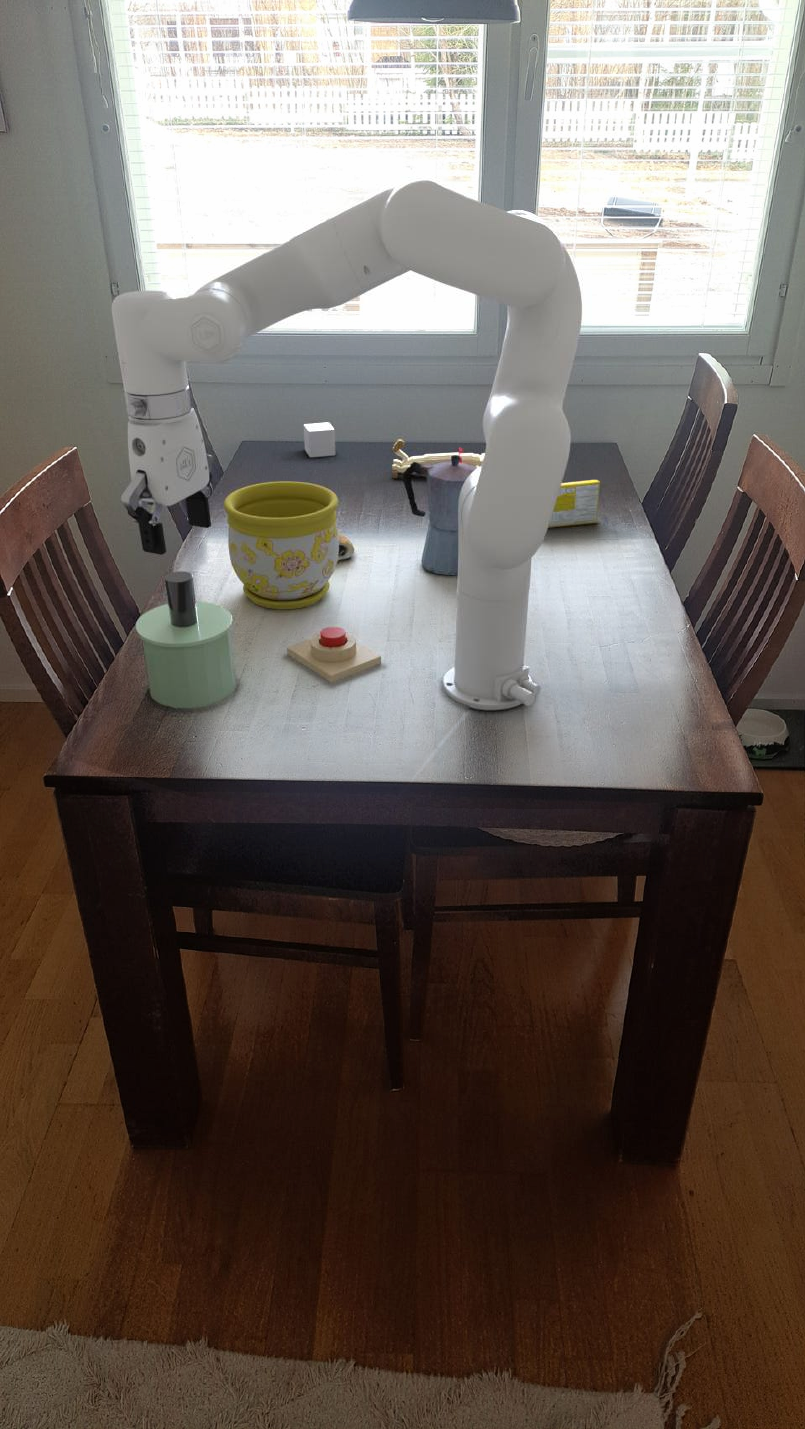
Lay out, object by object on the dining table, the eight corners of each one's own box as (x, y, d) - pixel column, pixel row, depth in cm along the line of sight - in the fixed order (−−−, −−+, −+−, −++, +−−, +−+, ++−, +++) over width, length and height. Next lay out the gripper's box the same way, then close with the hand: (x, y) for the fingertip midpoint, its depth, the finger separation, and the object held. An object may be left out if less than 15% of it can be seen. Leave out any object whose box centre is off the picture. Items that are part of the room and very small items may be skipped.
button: (350, 643, 146) (350, 633, 145) (330, 651, 144) (330, 640, 143) (335, 635, 148) (335, 624, 147) (315, 642, 146) (315, 631, 145)
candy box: (592, 520, 198) (597, 478, 193) (597, 523, 196) (601, 482, 192) (514, 527, 194) (517, 485, 190) (518, 531, 192) (521, 489, 188)
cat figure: (392, 487, 217) (509, 481, 215) (389, 447, 213) (508, 440, 210) (396, 473, 226) (508, 466, 223) (393, 434, 221) (507, 427, 218)
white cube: (329, 448, 238) (329, 422, 234) (335, 455, 233) (334, 429, 230) (304, 449, 236) (303, 424, 233) (309, 457, 231) (308, 431, 228)
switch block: (381, 666, 147) (381, 645, 145) (331, 686, 142) (330, 664, 140) (336, 639, 154) (335, 619, 152) (287, 657, 149) (285, 636, 147)
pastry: (306, 546, 186) (305, 526, 184) (341, 541, 188) (340, 521, 186) (322, 564, 178) (322, 544, 176) (358, 559, 181) (358, 539, 179)
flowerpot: (286, 563, 179) (281, 473, 170) (363, 591, 169) (361, 496, 160) (209, 596, 167) (199, 501, 158) (287, 628, 157) (280, 528, 148)
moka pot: (483, 580, 173) (489, 466, 162) (396, 573, 175) (395, 460, 165) (490, 559, 181) (496, 449, 170) (406, 552, 183) (407, 443, 173)
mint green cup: (251, 679, 143) (246, 616, 138) (203, 719, 134) (196, 652, 129) (183, 662, 148) (175, 600, 142) (132, 699, 138) (122, 634, 133)
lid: (251, 619, 138) (246, 567, 134) (196, 659, 129) (190, 604, 125) (174, 602, 143) (168, 551, 139) (116, 639, 133) (107, 586, 129)
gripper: (138, 426, 112) (160, 568, 121) (225, 389, 125) (239, 520, 134) (85, 419, 115) (111, 559, 124) (176, 384, 128) (193, 513, 137)
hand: (178, 538), depth 129 cm, fingers open, 9 cm apart
